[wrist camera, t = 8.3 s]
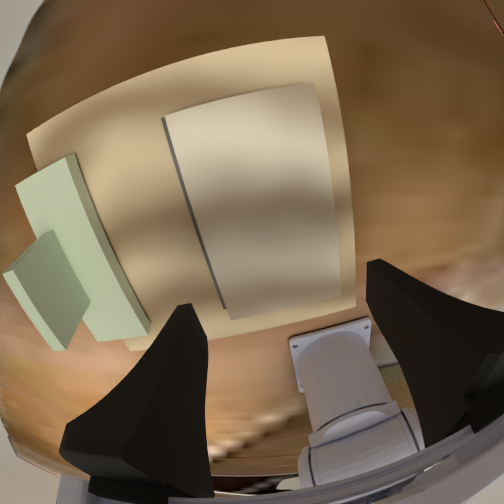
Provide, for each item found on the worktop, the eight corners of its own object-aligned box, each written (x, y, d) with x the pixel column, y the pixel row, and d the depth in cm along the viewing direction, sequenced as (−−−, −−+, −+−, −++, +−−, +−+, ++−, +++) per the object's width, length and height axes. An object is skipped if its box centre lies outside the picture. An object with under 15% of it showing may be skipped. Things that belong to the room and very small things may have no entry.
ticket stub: (151, 324, 21) (134, 387, 16) (102, 332, 22) (80, 388, 16) (74, 153, 14) (14, 181, 9) (24, 180, 15) (-32, 215, 9)
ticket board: (350, 295, 24) (362, 318, 21) (134, 339, 24) (126, 363, 22) (317, 40, 14) (332, 30, 11) (38, 131, 15) (13, 138, 12)
